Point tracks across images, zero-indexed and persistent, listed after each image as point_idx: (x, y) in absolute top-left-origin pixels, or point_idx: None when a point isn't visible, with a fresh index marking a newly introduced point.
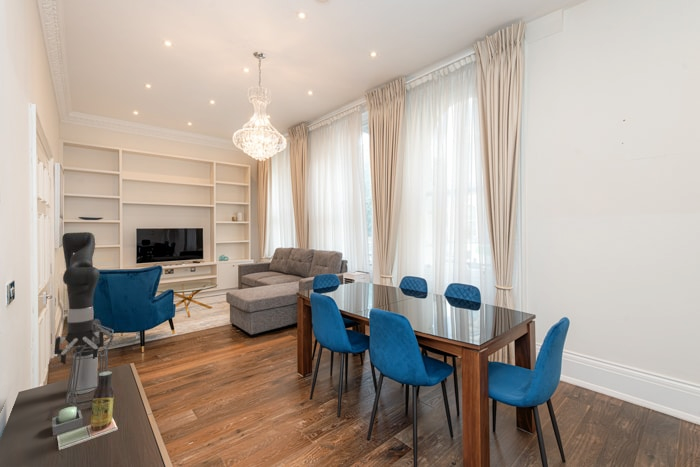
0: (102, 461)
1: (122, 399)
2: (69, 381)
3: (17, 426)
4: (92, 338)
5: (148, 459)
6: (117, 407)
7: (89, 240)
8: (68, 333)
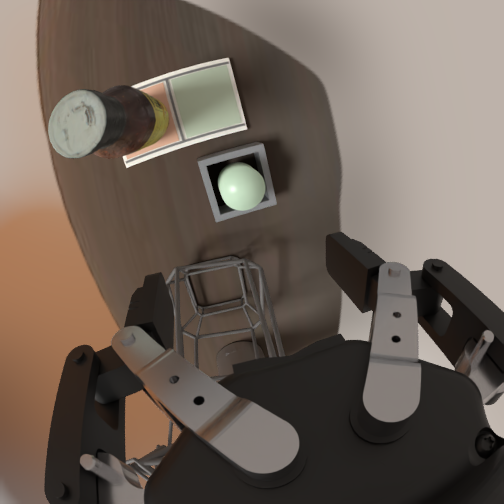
0: None
1: (133, 279)
2: (271, 309)
3: None
4: None
5: None
6: (132, 236)
7: None
8: (495, 444)
